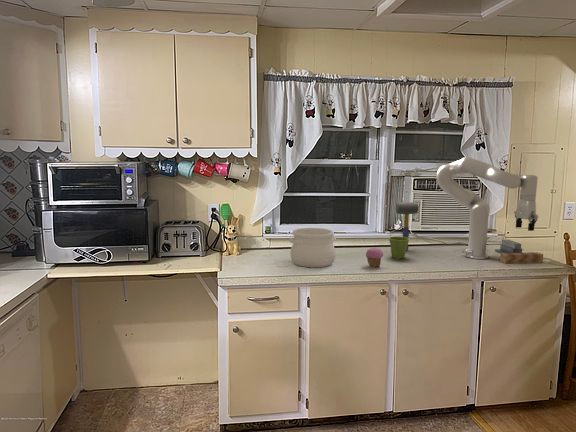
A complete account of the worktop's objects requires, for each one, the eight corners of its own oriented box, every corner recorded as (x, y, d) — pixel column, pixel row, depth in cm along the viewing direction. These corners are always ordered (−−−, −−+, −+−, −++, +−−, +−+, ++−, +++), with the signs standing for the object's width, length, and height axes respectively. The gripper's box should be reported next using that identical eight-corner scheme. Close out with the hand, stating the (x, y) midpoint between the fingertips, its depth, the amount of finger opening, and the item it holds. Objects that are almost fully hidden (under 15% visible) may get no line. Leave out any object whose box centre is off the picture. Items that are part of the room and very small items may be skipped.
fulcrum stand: (509, 257, 244) (510, 244, 242) (494, 251, 257) (495, 239, 256) (527, 256, 245) (528, 244, 244) (511, 251, 259) (512, 239, 258)
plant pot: (411, 260, 236) (412, 240, 234) (390, 260, 236) (391, 240, 234) (405, 255, 248) (406, 236, 246) (385, 255, 248) (386, 236, 246)
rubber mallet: (412, 248, 264) (415, 201, 260) (417, 251, 257) (419, 202, 252) (393, 249, 263) (395, 201, 259) (397, 251, 256) (399, 202, 251)
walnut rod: (505, 264, 229) (505, 255, 229) (500, 262, 234) (500, 253, 233) (542, 263, 232) (543, 254, 231) (536, 261, 236) (537, 252, 235)
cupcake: (385, 266, 223) (386, 247, 221) (376, 269, 217) (377, 250, 215) (371, 263, 229) (372, 245, 227) (362, 266, 223) (362, 247, 221)
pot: (296, 270, 214) (296, 236, 211) (283, 259, 237) (284, 228, 235) (343, 267, 221) (344, 234, 218) (327, 256, 244) (327, 226, 241)
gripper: (510, 196, 236) (508, 226, 239) (532, 199, 219) (529, 232, 222) (522, 196, 237) (520, 226, 240) (545, 199, 220) (542, 231, 223)
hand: (524, 228), depth 231 cm, fingers open, 9 cm apart
